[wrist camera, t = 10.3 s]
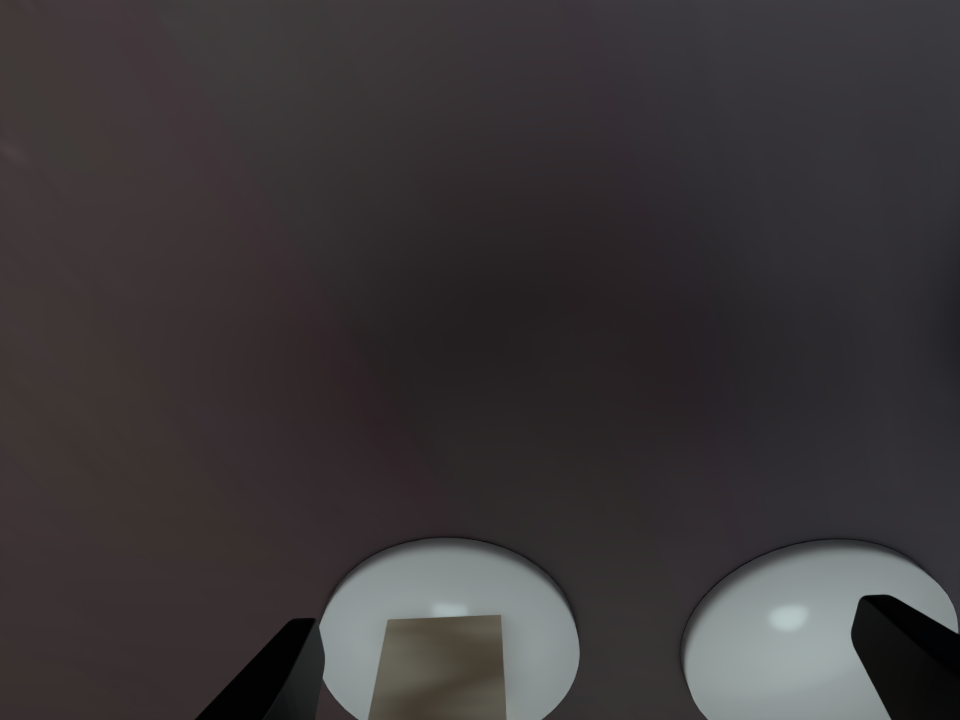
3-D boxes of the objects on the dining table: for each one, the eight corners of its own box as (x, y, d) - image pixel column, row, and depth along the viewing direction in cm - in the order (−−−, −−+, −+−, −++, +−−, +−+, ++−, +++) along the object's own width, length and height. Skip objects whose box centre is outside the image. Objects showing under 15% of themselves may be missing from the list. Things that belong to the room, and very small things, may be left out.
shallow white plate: (971, 533, 23) (992, 549, 22) (905, 722, 27) (920, 743, 26) (691, 545, 23) (700, 561, 22) (671, 731, 27) (677, 751, 26)
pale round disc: (577, 531, 23) (581, 547, 22) (574, 722, 27) (577, 742, 26) (301, 543, 23) (294, 560, 22) (342, 730, 27) (337, 750, 26)
